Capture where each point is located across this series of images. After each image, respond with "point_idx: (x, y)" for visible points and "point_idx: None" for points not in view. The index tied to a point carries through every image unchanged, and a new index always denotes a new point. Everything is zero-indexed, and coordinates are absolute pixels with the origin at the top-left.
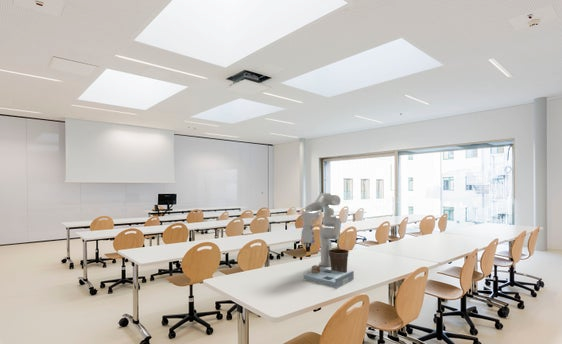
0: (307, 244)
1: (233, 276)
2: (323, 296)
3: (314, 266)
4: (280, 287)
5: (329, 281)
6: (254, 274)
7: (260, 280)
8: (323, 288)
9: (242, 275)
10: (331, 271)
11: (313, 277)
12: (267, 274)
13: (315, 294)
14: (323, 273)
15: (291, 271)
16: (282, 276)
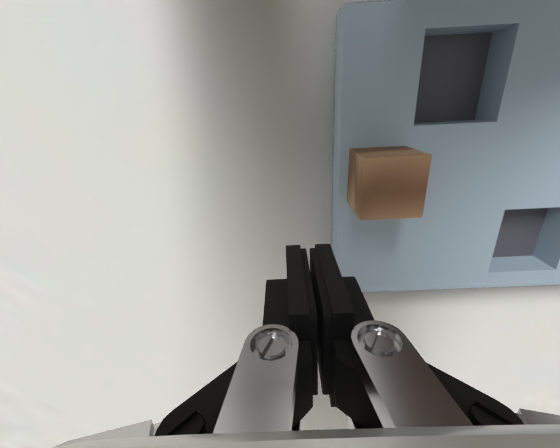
0: (282, 386)
1: (18, 442)
2: (550, 393)
3: (386, 206)
4: (315, 419)
5: (556, 283)
6: (43, 375)
7: (163, 412)
8: (515, 323)
9: (25, 415)
10: (487, 26)
11: (424, 289)
12: (89, 336)
13: (506, 395)
14: (450, 162)
15: (129, 191)
16: (186, 311)
